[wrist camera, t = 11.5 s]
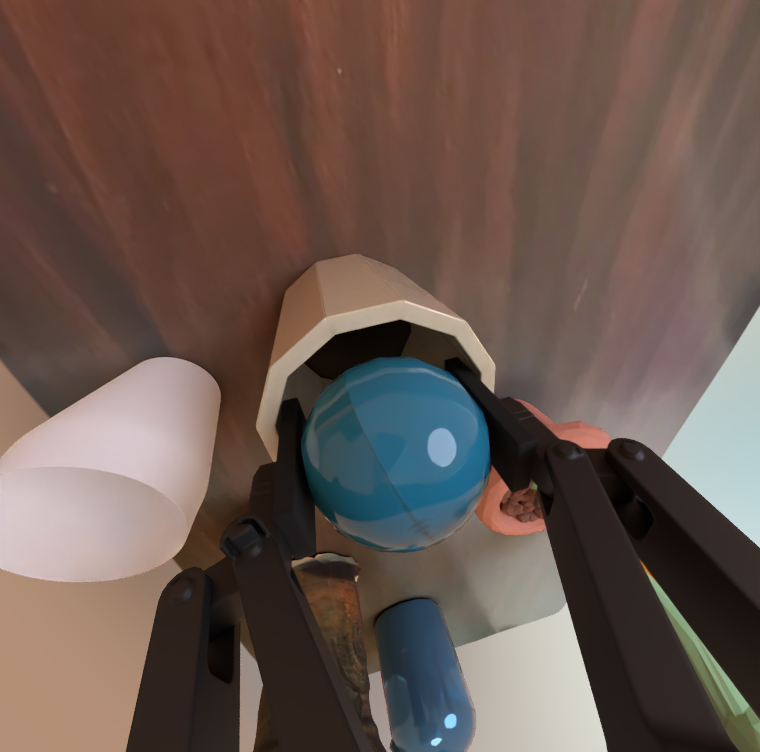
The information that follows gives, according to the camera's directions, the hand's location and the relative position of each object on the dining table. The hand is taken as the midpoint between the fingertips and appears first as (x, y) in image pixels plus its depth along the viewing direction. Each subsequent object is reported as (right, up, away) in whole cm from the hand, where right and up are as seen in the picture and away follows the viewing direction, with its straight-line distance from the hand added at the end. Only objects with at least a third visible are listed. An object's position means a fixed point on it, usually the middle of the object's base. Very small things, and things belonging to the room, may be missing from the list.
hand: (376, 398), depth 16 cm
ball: (0, 0, 0) cm, 0 cm away
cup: (-16, 0, +8) cm, 18 cm away
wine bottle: (+5, -44, +40) cm, 60 cm away
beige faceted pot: (-2, +5, +9) cm, 10 cm away
